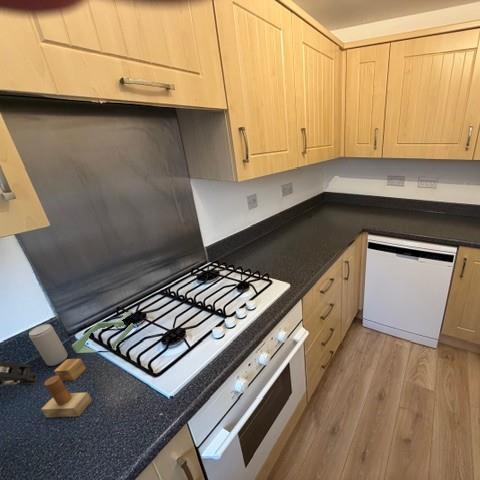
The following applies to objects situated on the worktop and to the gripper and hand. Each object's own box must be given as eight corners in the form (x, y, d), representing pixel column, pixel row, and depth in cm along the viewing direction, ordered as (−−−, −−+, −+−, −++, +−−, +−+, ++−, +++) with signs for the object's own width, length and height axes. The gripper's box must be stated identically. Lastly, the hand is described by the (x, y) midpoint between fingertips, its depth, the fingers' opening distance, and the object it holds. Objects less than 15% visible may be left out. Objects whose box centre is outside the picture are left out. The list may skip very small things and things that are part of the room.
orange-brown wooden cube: (60, 381, 72) (53, 371, 70) (72, 369, 75) (67, 359, 74) (74, 380, 71) (68, 370, 70) (86, 368, 75) (80, 358, 74)
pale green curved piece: (116, 351, 81) (112, 343, 79) (75, 353, 81) (71, 345, 80) (150, 314, 97) (147, 307, 95) (116, 316, 97) (113, 309, 96)
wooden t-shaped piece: (46, 417, 62) (25, 388, 58) (61, 401, 66) (43, 373, 62) (79, 416, 62) (60, 387, 58) (92, 400, 66) (76, 372, 62)
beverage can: (60, 353, 81) (42, 323, 76) (73, 354, 80) (55, 324, 76) (43, 366, 77) (23, 335, 72) (56, 367, 76) (37, 336, 71)
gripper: (-29, 339, 41) (54, 355, 55) (-148, 370, 38) (-29, 379, 52) (-47, 390, 37) (47, 394, 51) (-181, 430, 34) (-43, 423, 48)
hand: (8, 387), depth 51 cm, fingers open, 8 cm apart
